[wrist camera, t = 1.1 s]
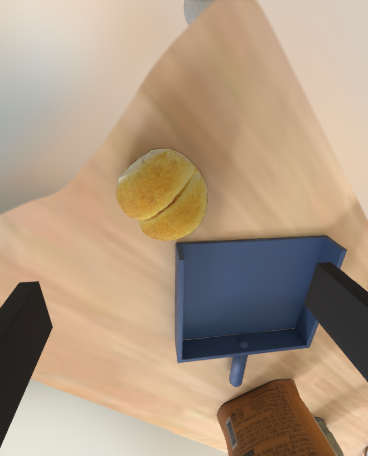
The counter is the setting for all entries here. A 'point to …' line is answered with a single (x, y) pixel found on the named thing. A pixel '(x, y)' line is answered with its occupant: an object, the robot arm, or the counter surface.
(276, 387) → the pancake mix bag
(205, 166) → the counter surface
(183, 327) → the scoop
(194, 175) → the bread roll
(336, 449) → the thermos
